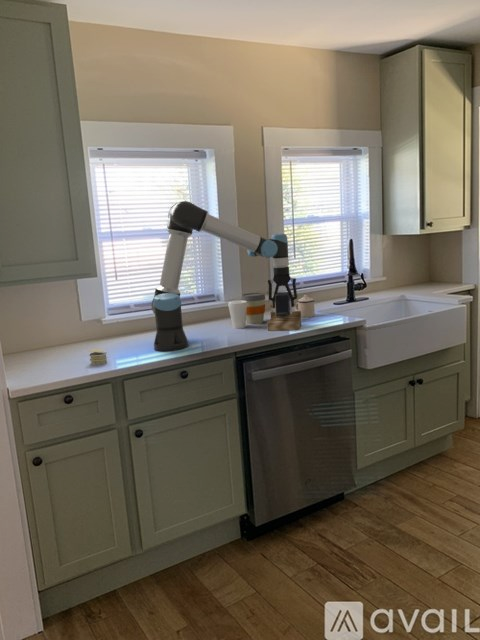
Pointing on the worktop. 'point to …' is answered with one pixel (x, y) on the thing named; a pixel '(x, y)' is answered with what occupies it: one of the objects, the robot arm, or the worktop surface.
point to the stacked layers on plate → (98, 356)
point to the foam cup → (238, 313)
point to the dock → (285, 322)
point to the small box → (282, 304)
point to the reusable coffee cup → (254, 307)
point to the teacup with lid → (306, 307)
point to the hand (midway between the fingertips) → (283, 313)
